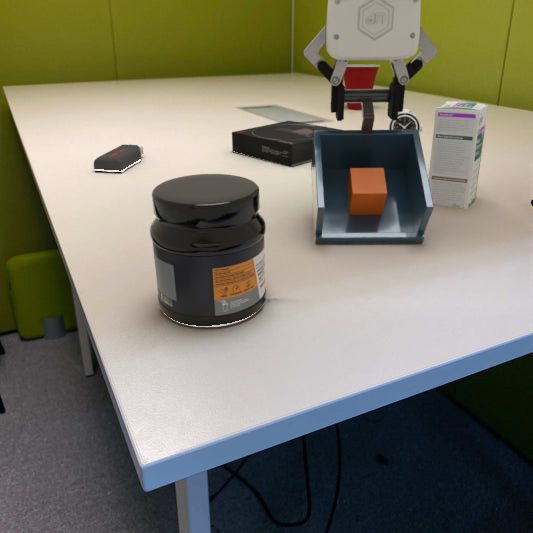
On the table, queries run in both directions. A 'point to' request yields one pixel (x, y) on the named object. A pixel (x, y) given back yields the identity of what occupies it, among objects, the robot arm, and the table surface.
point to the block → (366, 191)
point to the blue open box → (369, 156)
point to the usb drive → (119, 157)
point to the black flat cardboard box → (278, 142)
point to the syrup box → (456, 152)
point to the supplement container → (208, 248)
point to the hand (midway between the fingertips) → (365, 117)
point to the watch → (405, 121)
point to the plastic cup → (359, 79)
